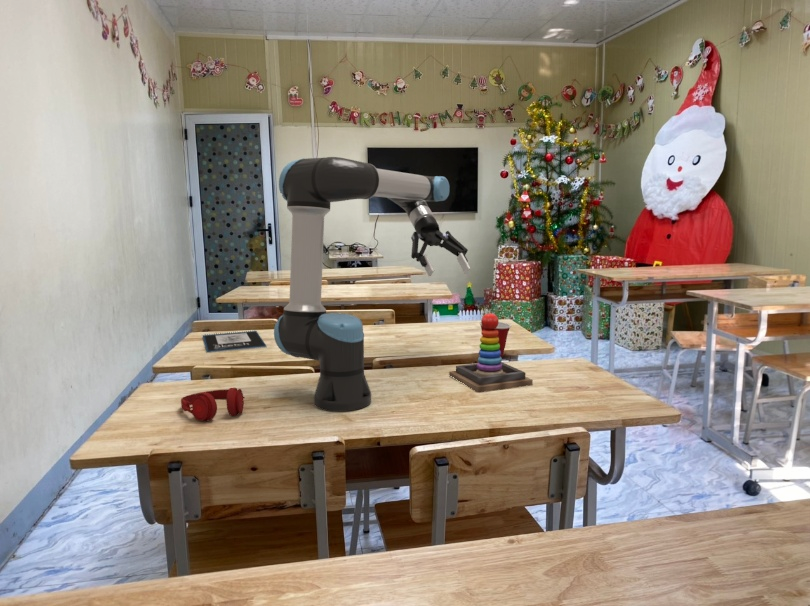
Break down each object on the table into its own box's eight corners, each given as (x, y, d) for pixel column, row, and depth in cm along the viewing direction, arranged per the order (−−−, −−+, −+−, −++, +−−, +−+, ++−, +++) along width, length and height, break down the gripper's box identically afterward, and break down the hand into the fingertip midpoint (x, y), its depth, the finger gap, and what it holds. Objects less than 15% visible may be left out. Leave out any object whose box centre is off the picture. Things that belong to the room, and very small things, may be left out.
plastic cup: (510, 361, 198) (511, 326, 197) (478, 360, 201) (478, 325, 199) (511, 354, 209) (511, 320, 207) (480, 352, 211) (480, 319, 209)
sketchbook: (206, 355, 216) (206, 349, 215) (202, 338, 243) (202, 333, 243) (266, 348, 224) (266, 343, 223) (256, 333, 251) (255, 328, 251)
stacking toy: (508, 376, 176) (509, 314, 173) (488, 380, 171) (489, 317, 168) (490, 370, 182) (491, 310, 179) (470, 374, 178) (471, 313, 175)
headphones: (253, 415, 148) (233, 404, 166) (251, 386, 148) (230, 379, 165) (192, 426, 141) (177, 414, 158) (189, 397, 141) (174, 387, 158)
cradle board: (477, 392, 165) (478, 380, 165) (449, 376, 182) (449, 365, 181) (532, 384, 172) (532, 373, 171) (500, 369, 188) (500, 359, 188)
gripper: (451, 230, 204) (477, 277, 193) (387, 231, 191) (411, 282, 181) (460, 214, 198) (487, 262, 188) (395, 215, 186) (420, 266, 175)
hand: (449, 272), depth 184 cm, fingers open, 13 cm apart
